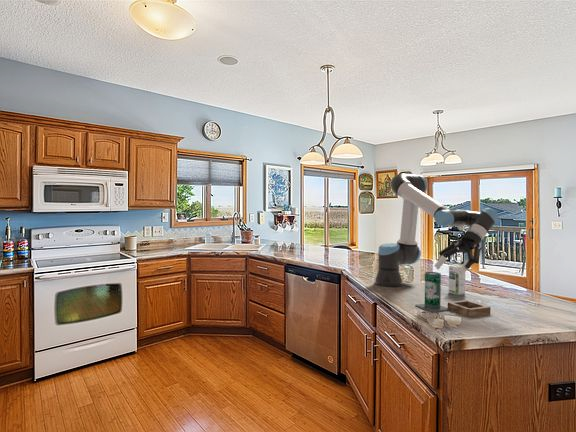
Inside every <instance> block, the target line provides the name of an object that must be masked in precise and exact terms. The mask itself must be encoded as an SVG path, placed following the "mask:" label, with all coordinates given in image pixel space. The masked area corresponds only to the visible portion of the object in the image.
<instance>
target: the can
mask: <svg viewBox="0 0 576 432" xmlns="http://www.w3.org/2000/svg"><path fill="white" fill-rule="evenodd" d="M441 282H442V273H440V272H437V271H436V272H435V271H426V272H424V304H425V307H427V308H431V309H439V308H440V306H441V297H442V296H441V295H442V294H441V293H442V292H441V291H442V290H441V289H442V285H441Z"/></svg>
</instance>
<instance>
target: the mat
mask: <svg viewBox="0 0 576 432" xmlns="http://www.w3.org/2000/svg"><path fill="white" fill-rule="evenodd" d="M414 306H415V307H417V308H418V309H422V310H424V311H426V312H428V313H429V312H430V313H432V314H433V313H439V312H441V313H442V312H448V311H451V310H450V309H449V308H448V307H447V306H443V305H440V308H439V309H431V308H427V307H425V303H419V304H415V305H414Z"/></svg>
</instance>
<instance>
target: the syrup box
mask: <svg viewBox="0 0 576 432" xmlns="http://www.w3.org/2000/svg"><path fill="white" fill-rule="evenodd" d="M461 266H462V265H458V264H457V265H456V264H450V265H448V294H449V293H450V294H453V295H456V296H461V295H465V294H466V272H465V273H464V275H461V274H460V273H459V271H458V270H459V269H460V268H461Z"/></svg>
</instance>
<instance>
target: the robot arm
mask: <svg viewBox="0 0 576 432" xmlns="http://www.w3.org/2000/svg"><path fill="white" fill-rule="evenodd" d="M390 189H391V191H393V193H394V194H395V195H397V196H398V197H400V198H402V199H403V204H402V212H401V213H402V215H401V224H400V234H399V235H400V236H399V239H398V240H397V241H396V243H395V242H394V243H393V242H389V243H383V244H381V245H379V247H378V251H377V252H378V257H377V258H378V261H377V262H378V268H377V269H378V270H377V273H376V276H375V281H374V282H375V283H374V284H375V285H378V286H382V287H392V288H393V287H394V288H395V287H401V286H402V285H403V279H402V276H401V273H400V266H404V265H414V264H416V263H417V262H418V261H419V260H420V259H421V256H422V255H421V254H422V251H421V249H420V246H418V242H417V241H416V235H417V224H418V214H419V209H420V210H422V211H423V212H425V213H426V214H428V215H429V216H430V217H432V218H433V219H434V222H435V224H436V225H438V226H441V227H453V226H455V227H458V226H460V227H461V226H465V227H468V228H467V230H466V231H465V232H464V234H462V236H461V239H460V241H459V242H458V241H457V240H454V241H453V242H452V243H451V244H449V245H448V246H446V247H445V248H444V249H442V250H441V251H439V252H438V254H439V255H440V257H439V258H438V259H437V261H436V263H435V264H434V267H435V268H436V269H437V270H440V268H441V267H442V266H443V265H444V263H445V262H446V261H447V258H449V257H451V256H453V255H455V254H457V253H466V254H467V259H466V260H465V261H464V262H463V264H462V265H460V266H461V268H460V269H459V270H458V271H459V273H460V274H461V275H464V273H465V274H466V273H467V270H469V269H470V268H471V267H472V266H473V265H474V264H479V263H480V258H481V250H482V249H483V247H482V246H481V242H482V240H483V239H484V238H485V237H486V236H487V234H488V232H490V230H491V228H493V226H494V225H495V224H496V222H497V220H498V219H499V214H498V212H497V211H496V210H494V209H493V208H491V207H485V208H483V209H482V210H481V211H473V210H465V209H459V208H458V209H455V210H452V209H450V208H448V207H447V206H445V205H443V204H441V203H440V202H439V201H437V200H435V199H433V197H431V196H429V195H428V194H426V192H427V189H428V181H427V179H426V178H425V176H423V175H421V174H417V173H415V174H414V173H399V174H396V175H394V176H393V177H392V179H391V181H390ZM473 250H474V251H473Z"/></svg>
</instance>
